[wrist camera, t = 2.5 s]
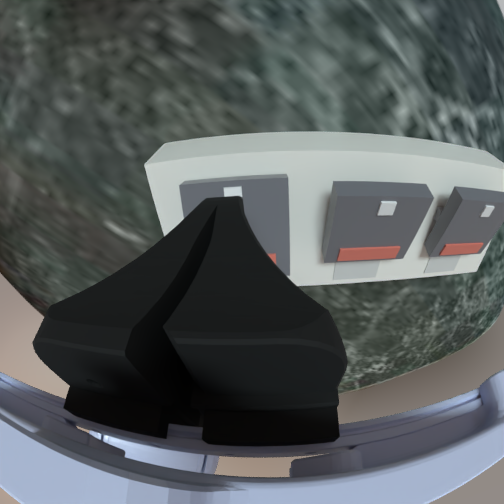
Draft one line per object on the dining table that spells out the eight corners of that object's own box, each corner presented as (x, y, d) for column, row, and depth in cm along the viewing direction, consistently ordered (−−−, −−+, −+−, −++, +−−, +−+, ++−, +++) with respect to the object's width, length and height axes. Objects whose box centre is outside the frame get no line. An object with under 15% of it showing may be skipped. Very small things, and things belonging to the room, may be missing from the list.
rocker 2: (398, 245, 15) (403, 260, 15) (321, 248, 16) (324, 264, 15) (425, 183, 11) (435, 199, 11) (332, 180, 12) (338, 198, 11)
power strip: (457, 244, 20) (478, 275, 16) (191, 255, 21) (180, 294, 18) (486, 151, 14) (519, 175, 11) (164, 143, 15) (140, 168, 12)
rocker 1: (288, 265, 15) (290, 276, 14) (198, 269, 15) (193, 280, 14) (286, 173, 13) (288, 177, 12) (185, 180, 13) (178, 185, 12)
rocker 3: (474, 241, 15) (481, 255, 14) (423, 243, 15) (429, 258, 15) (506, 191, 11) (515, 205, 10) (454, 185, 11) (463, 201, 11)
